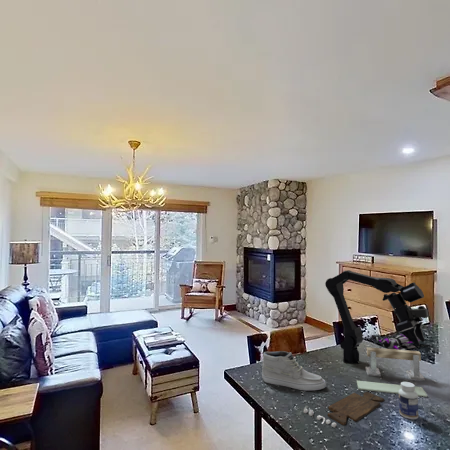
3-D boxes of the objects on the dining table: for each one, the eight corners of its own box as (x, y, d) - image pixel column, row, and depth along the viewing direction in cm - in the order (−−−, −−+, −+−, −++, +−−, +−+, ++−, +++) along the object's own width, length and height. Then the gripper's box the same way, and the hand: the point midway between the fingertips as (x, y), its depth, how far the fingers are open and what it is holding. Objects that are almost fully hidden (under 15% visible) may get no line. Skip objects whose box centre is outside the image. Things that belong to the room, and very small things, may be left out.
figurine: (440, 338, 168) (402, 347, 156) (440, 351, 168) (401, 361, 156) (399, 323, 189) (362, 330, 177) (399, 335, 189) (362, 343, 178)
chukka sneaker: (325, 393, 120) (324, 360, 121) (259, 384, 129) (258, 353, 129) (326, 383, 129) (325, 352, 129) (264, 375, 137) (263, 346, 138)
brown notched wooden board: (319, 416, 106) (347, 430, 98) (319, 411, 106) (347, 424, 98) (361, 392, 122) (388, 402, 114) (360, 387, 122) (388, 397, 114)
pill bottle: (395, 411, 107) (394, 381, 108) (411, 410, 107) (410, 380, 108) (406, 420, 102) (405, 388, 102) (422, 419, 102) (421, 387, 103)
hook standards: (367, 375, 136) (366, 352, 137) (365, 369, 143) (364, 346, 143) (424, 380, 130) (423, 356, 131) (419, 374, 137) (418, 351, 137)
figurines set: (337, 426, 99) (336, 416, 99) (331, 429, 97) (331, 419, 98) (305, 410, 109) (305, 401, 109) (299, 413, 107) (299, 404, 107)
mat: (358, 389, 123) (358, 388, 123) (356, 381, 130) (356, 380, 130) (427, 397, 117) (427, 395, 117) (421, 388, 123) (421, 387, 123)
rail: (367, 356, 138) (367, 349, 138) (366, 354, 141) (366, 347, 141) (421, 361, 133) (420, 353, 133) (418, 358, 135) (418, 351, 136)
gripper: (413, 301, 127) (437, 341, 120) (423, 297, 140) (445, 333, 134) (386, 312, 133) (408, 350, 126) (399, 307, 146) (418, 341, 140)
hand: (421, 343), depth 132 cm, fingers open, 9 cm apart
